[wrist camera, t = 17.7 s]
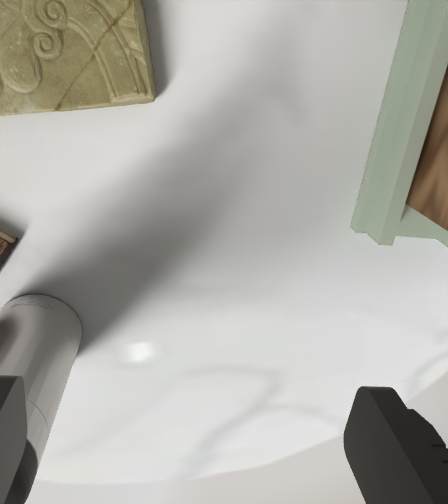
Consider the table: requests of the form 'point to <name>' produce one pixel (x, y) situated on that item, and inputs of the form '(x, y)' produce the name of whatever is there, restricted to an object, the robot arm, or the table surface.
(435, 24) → the pale green channel holder
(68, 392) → the table surface
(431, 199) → the wooden picture frame
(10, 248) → the hardcover book
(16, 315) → the robot arm
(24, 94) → the decorative tile
